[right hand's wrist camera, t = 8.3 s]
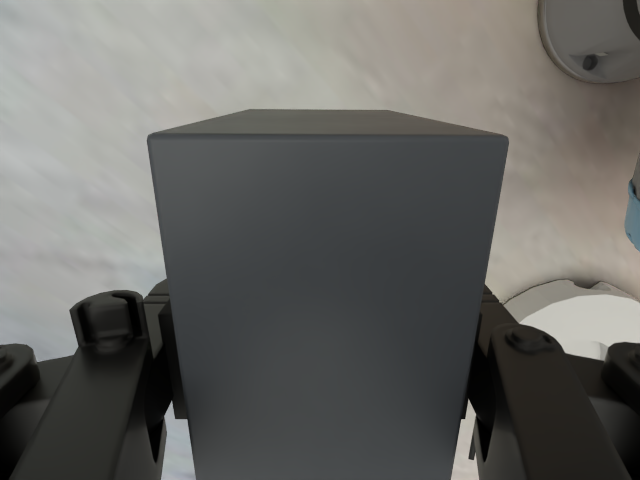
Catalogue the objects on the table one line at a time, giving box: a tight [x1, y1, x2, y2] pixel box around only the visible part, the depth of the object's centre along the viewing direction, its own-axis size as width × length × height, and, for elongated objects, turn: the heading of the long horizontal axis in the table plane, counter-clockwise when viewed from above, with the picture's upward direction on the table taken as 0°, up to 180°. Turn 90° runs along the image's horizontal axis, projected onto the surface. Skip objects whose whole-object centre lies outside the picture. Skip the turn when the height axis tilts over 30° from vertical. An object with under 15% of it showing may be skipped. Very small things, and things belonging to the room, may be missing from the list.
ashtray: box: [503, 280, 640, 361], centre depth 49 cm, size 23×23×4 cm
